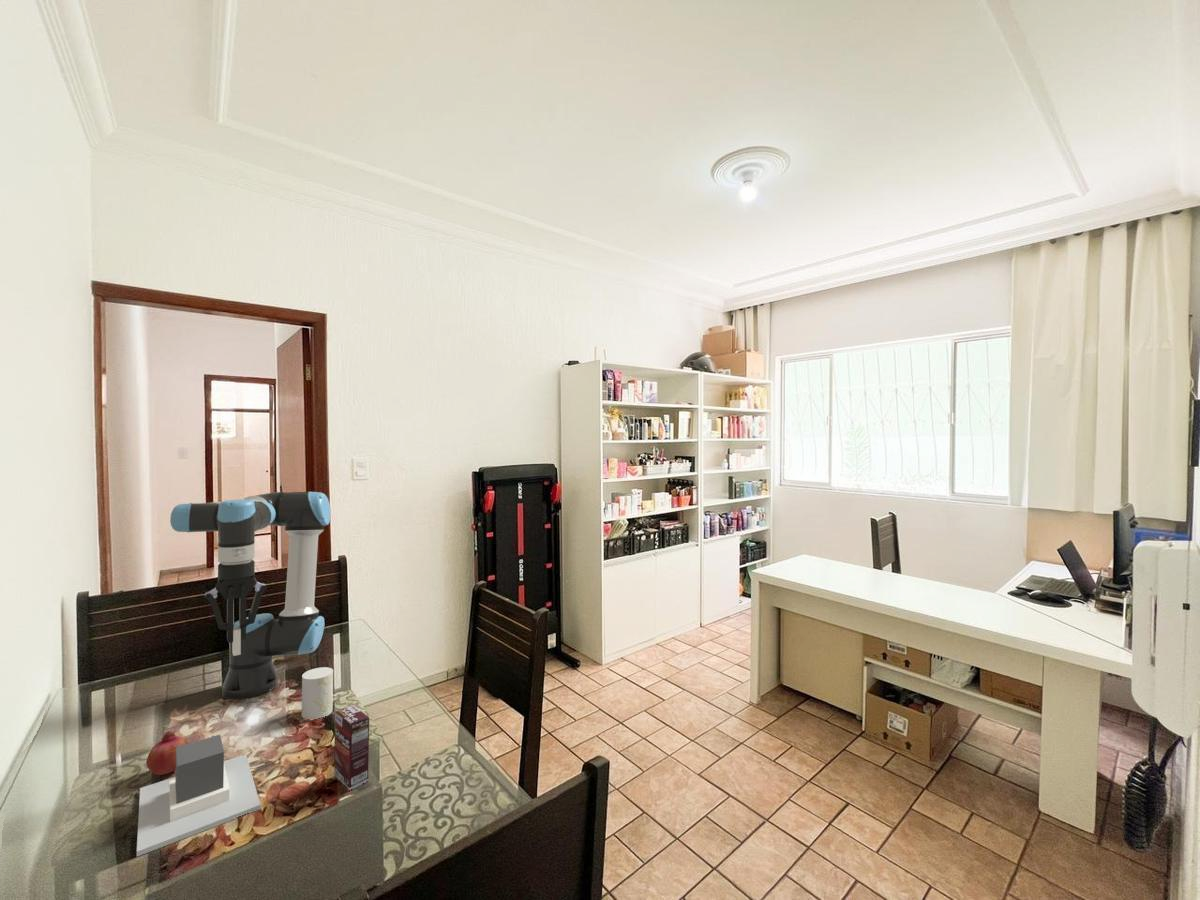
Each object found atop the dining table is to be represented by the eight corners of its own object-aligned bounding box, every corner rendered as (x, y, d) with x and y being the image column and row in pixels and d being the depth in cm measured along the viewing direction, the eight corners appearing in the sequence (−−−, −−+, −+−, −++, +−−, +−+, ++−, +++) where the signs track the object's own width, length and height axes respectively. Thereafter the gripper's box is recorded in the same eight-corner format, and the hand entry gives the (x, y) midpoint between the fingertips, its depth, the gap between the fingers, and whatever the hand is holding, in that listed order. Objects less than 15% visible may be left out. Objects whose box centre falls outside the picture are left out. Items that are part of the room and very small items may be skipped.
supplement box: (332, 776, 121) (333, 711, 122) (353, 767, 125) (354, 703, 125) (348, 792, 116) (349, 723, 116) (369, 782, 120) (370, 715, 120)
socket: (140, 792, 115) (140, 777, 115) (246, 758, 128) (246, 744, 128) (136, 856, 97) (136, 838, 97) (260, 809, 110) (260, 793, 110)
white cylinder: (318, 721, 146) (319, 680, 146) (294, 718, 147) (295, 677, 147) (338, 707, 154) (339, 668, 154) (315, 704, 155) (316, 666, 155)
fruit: (139, 787, 117) (140, 744, 117) (154, 767, 124) (155, 726, 124) (183, 778, 120) (183, 736, 120) (194, 759, 127) (195, 720, 127)
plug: (175, 792, 113) (176, 747, 113) (219, 777, 119) (220, 734, 119) (176, 814, 107) (177, 766, 107) (223, 797, 112) (223, 751, 112)
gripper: (204, 568, 119) (204, 666, 120) (269, 560, 128) (269, 651, 129) (202, 562, 125) (202, 655, 126) (264, 554, 134) (264, 642, 134)
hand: (236, 653), depth 127 cm, fingers closed
